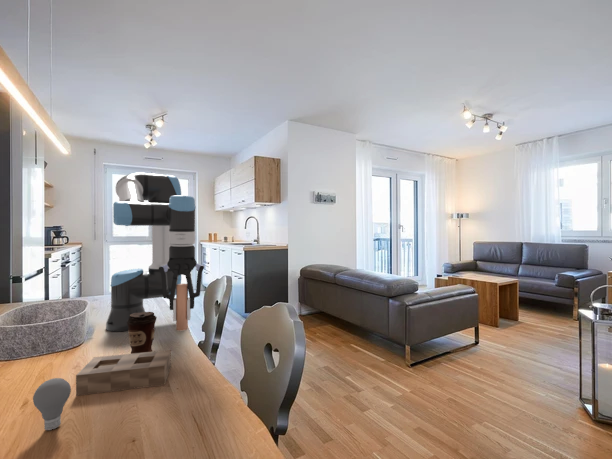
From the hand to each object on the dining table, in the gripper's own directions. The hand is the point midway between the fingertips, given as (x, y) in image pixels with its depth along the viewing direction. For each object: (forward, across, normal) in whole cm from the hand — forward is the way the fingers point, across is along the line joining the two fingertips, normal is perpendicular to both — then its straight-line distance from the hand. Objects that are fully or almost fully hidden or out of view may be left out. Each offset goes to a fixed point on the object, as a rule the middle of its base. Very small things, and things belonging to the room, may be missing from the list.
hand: (182, 319), depth 97 cm
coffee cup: (+13, -13, +7) cm, 20 cm away
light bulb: (+12, -21, -30) cm, 38 cm away
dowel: (+3, 0, 0) cm, 3 cm away
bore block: (+12, -12, -11) cm, 21 cm away
